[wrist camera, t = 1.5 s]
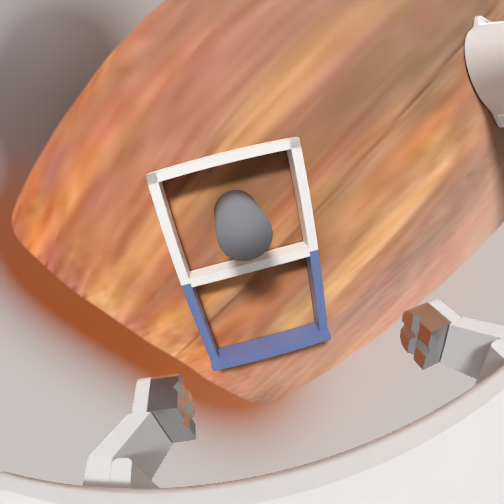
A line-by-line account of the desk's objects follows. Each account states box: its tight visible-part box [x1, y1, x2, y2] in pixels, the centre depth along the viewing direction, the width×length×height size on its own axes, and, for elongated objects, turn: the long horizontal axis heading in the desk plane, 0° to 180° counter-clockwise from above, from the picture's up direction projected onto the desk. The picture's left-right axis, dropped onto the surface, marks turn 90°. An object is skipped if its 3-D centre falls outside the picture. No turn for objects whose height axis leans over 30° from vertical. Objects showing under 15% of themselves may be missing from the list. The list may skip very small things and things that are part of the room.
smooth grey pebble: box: [214, 190, 273, 261], centre depth 28 cm, size 4×4×8 cm
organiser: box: [146, 137, 331, 371], centre depth 32 cm, size 15×24×3 cm, turn 13°
